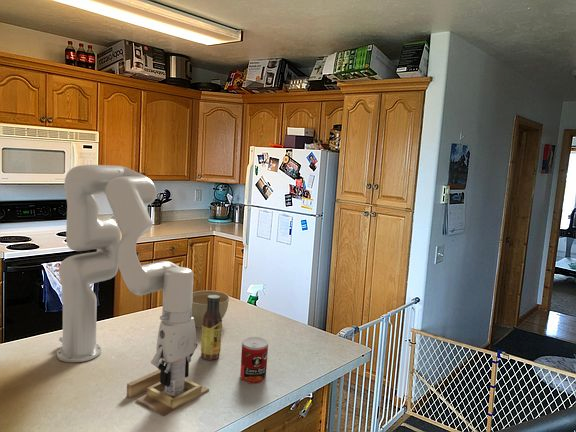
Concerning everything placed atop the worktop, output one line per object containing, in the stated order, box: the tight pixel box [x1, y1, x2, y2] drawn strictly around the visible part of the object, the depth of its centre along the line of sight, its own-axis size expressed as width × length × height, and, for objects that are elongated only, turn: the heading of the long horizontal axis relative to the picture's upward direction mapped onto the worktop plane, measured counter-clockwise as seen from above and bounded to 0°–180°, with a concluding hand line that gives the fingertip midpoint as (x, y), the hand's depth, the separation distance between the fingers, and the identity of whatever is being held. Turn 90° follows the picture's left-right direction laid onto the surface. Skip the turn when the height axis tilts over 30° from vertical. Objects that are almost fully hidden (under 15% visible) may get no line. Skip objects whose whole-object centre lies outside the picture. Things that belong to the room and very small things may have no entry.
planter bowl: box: [192, 290, 230, 329], centre depth 171 cm, size 16×16×11 cm
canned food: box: [240, 336, 269, 385], centre depth 133 cm, size 8×8×11 cm
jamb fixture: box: [126, 369, 210, 417], centre depth 121 cm, size 14×16×4 cm
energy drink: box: [164, 357, 186, 397], centre depth 119 cm, size 5×5×12 cm
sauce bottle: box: [200, 295, 223, 361], centre depth 144 cm, size 6×6×20 cm
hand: (174, 379), depth 120 cm, fingers open, 5 cm apart
